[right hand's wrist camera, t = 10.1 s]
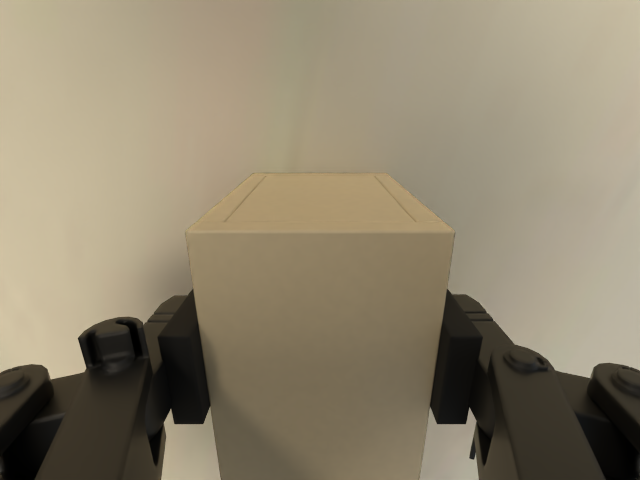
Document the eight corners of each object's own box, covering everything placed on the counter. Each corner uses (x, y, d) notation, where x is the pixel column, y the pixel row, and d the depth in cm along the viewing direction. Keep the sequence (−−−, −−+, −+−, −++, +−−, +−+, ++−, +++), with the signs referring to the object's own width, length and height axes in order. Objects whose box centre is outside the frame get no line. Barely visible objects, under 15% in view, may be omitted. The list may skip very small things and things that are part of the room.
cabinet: (368, 450, 21) (396, 641, 14) (271, 450, 21) (243, 641, 14) (387, 173, 15) (456, 230, 8) (252, 173, 15) (183, 230, 8)
